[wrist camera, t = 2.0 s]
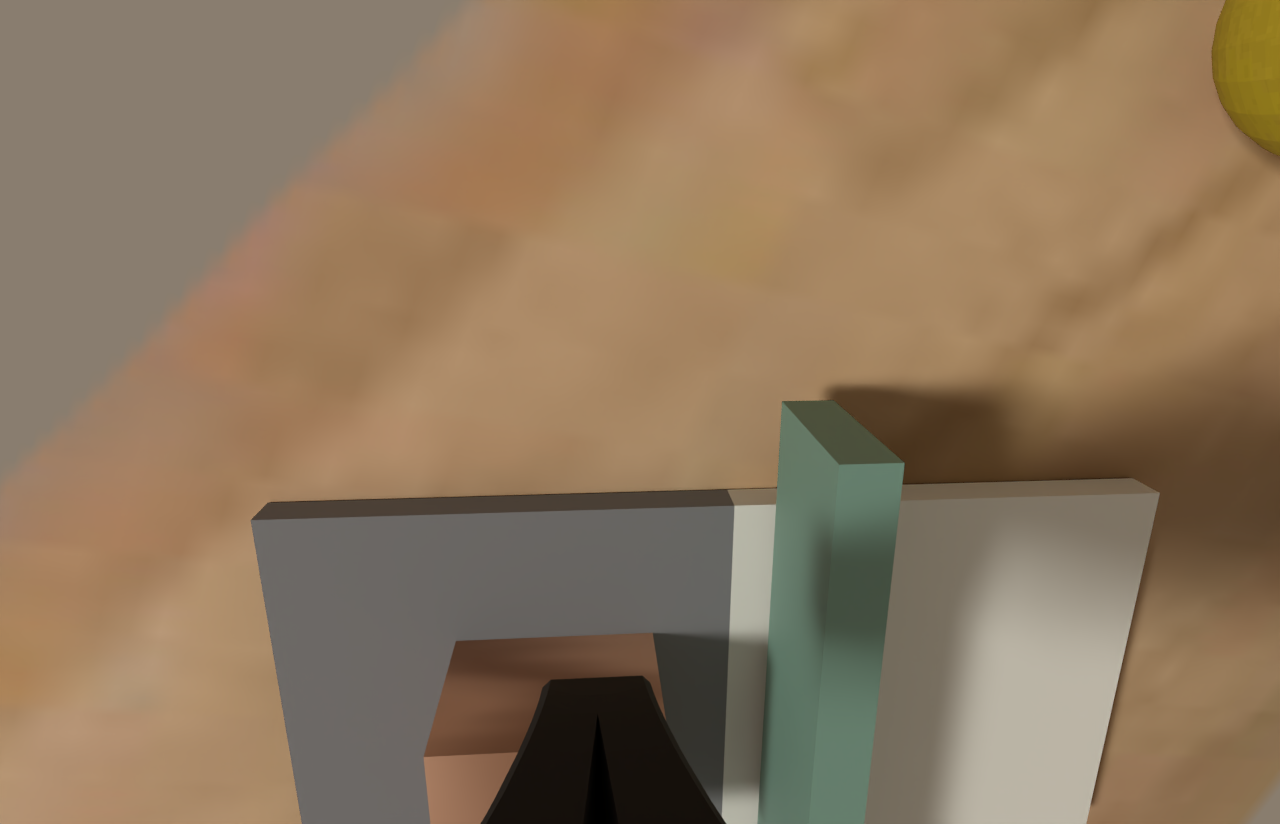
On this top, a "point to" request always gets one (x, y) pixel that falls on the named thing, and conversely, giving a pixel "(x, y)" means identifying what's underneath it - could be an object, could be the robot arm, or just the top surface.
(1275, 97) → the lemon
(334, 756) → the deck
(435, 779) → the block
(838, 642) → the bar
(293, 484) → the top surface
